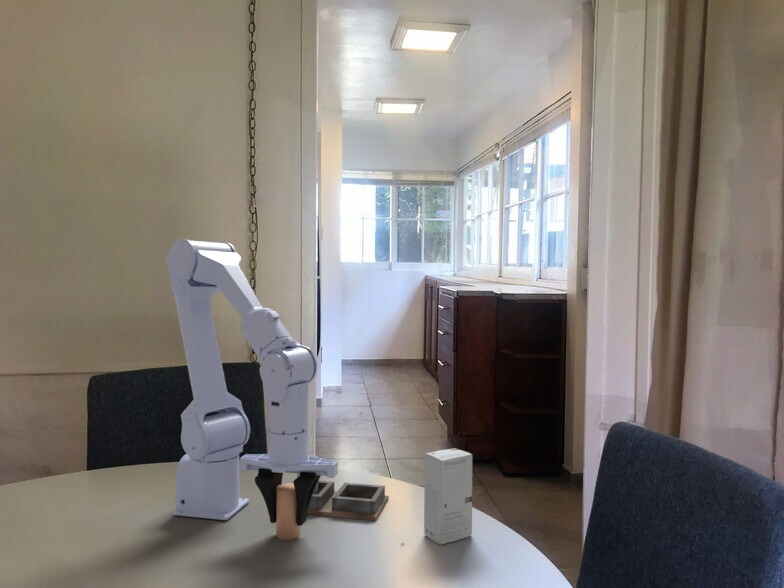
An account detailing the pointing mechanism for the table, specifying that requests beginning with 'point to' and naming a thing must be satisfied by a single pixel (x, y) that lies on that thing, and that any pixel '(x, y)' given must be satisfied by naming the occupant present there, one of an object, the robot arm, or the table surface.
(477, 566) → the table surface
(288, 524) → the terracotta tube
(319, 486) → the tube rack
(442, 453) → the skincare box
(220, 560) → the table surface
